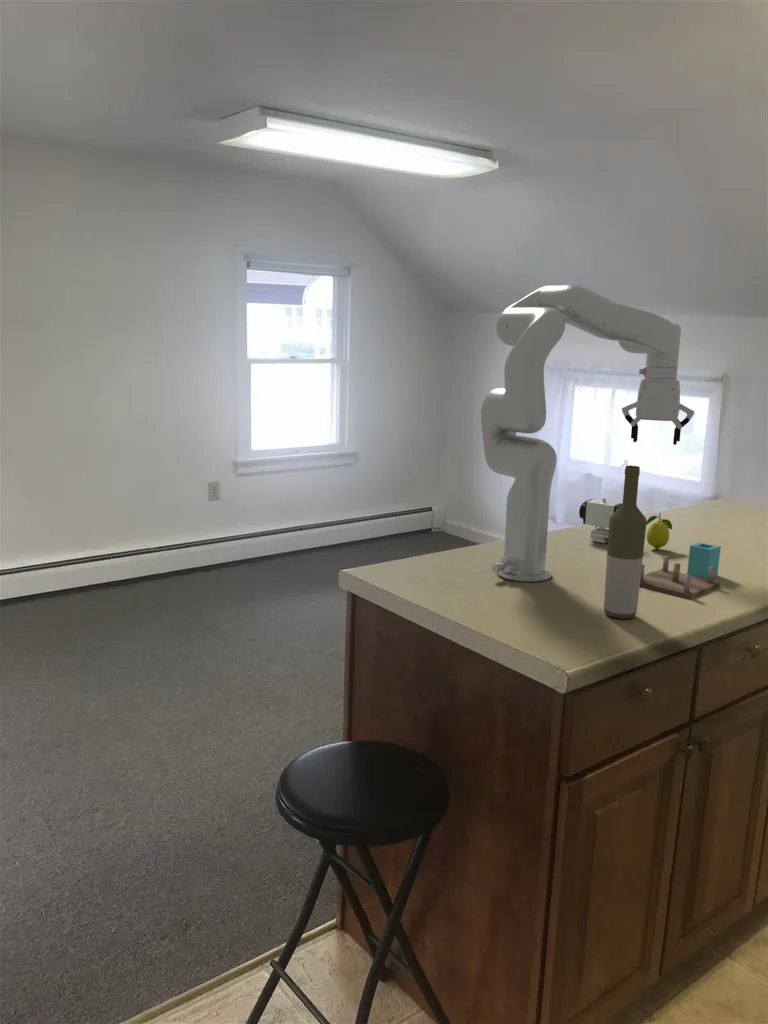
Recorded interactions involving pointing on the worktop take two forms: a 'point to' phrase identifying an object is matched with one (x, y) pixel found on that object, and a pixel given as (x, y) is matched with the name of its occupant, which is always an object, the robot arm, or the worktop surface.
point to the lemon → (658, 532)
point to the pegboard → (678, 581)
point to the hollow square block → (703, 559)
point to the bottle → (625, 552)
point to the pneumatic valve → (598, 517)
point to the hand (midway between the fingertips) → (654, 442)
